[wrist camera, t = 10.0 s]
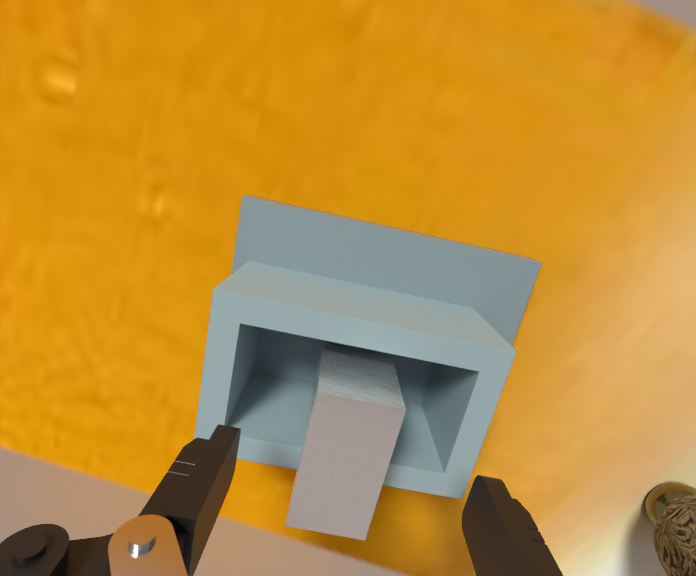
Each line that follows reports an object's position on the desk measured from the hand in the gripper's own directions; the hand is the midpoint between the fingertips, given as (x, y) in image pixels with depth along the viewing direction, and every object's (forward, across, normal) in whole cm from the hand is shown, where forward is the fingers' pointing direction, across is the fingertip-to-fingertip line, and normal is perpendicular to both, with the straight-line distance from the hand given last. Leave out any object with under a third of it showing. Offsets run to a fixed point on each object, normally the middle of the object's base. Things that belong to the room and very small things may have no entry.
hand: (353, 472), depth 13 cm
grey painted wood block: (+9, 0, +1) cm, 9 cm away
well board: (+11, -1, 0) cm, 11 cm away
